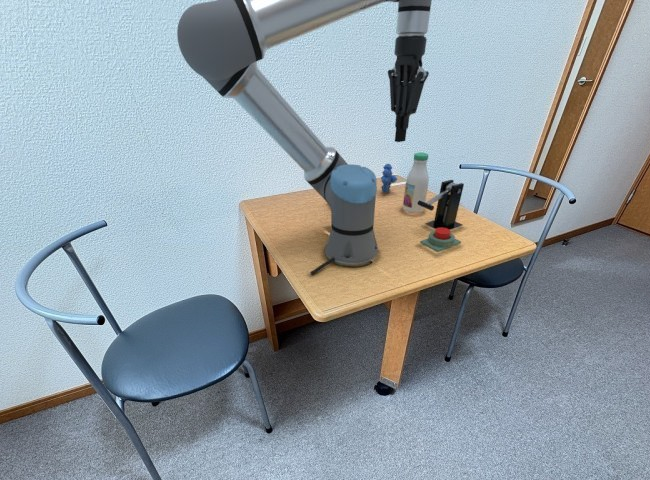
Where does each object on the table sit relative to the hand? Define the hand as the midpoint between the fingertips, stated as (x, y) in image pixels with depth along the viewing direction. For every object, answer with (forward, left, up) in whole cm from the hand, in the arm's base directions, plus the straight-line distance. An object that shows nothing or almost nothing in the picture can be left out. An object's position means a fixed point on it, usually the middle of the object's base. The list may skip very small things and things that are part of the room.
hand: (399, 141), depth 94 cm
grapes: (+20, +25, -27) cm, 42 cm away
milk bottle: (+15, +5, -27) cm, 31 cm away
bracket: (+14, -11, -26) cm, 32 cm away
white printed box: (+16, -3, -21) cm, 27 cm away
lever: (+9, -10, -16) cm, 21 cm away
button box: (+3, -19, -26) cm, 33 cm away
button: (+3, -19, -23) cm, 30 cm away
